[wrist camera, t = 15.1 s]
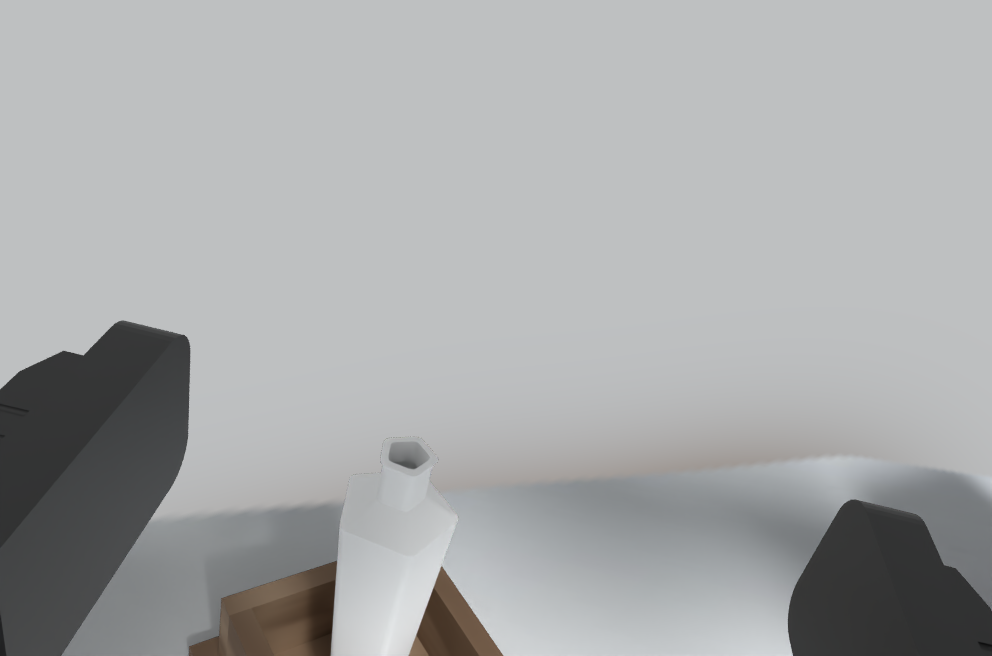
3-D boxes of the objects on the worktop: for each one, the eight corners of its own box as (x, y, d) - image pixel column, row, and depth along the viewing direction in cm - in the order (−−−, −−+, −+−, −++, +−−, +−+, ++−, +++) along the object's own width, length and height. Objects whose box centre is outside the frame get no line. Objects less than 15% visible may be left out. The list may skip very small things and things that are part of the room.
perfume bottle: (287, 682, 39) (320, 431, 31) (371, 645, 42) (421, 405, 34) (332, 768, 36) (382, 515, 29) (420, 722, 39) (487, 479, 31)
